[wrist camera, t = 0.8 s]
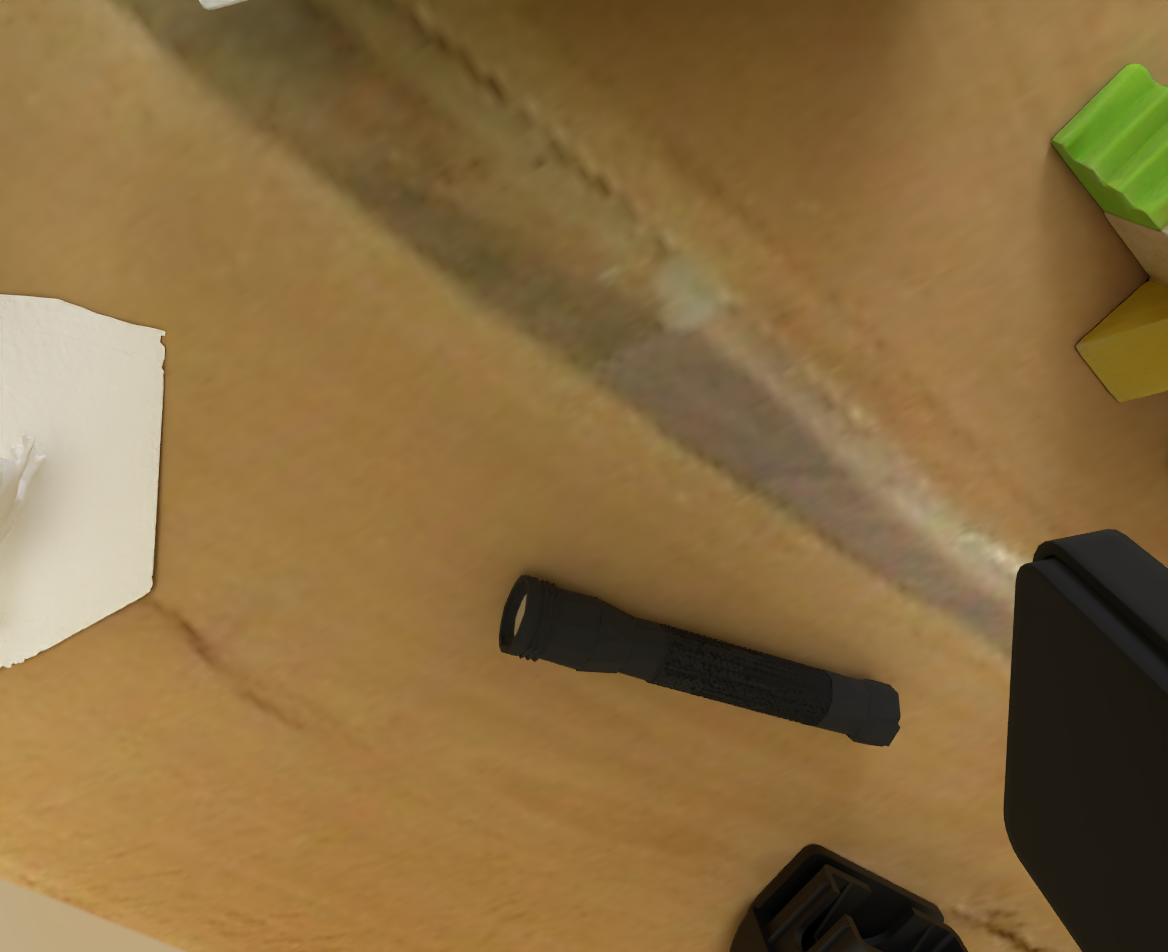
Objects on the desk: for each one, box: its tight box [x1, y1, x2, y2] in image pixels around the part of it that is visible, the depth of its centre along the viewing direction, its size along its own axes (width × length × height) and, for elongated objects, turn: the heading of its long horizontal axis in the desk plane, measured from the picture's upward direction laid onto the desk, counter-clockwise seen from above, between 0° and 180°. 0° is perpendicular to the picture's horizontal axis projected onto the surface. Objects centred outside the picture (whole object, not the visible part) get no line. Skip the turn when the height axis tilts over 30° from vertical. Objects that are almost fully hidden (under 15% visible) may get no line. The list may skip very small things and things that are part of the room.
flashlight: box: [499, 575, 900, 746], centre depth 43 cm, size 3×16×3 cm, turn 67°
